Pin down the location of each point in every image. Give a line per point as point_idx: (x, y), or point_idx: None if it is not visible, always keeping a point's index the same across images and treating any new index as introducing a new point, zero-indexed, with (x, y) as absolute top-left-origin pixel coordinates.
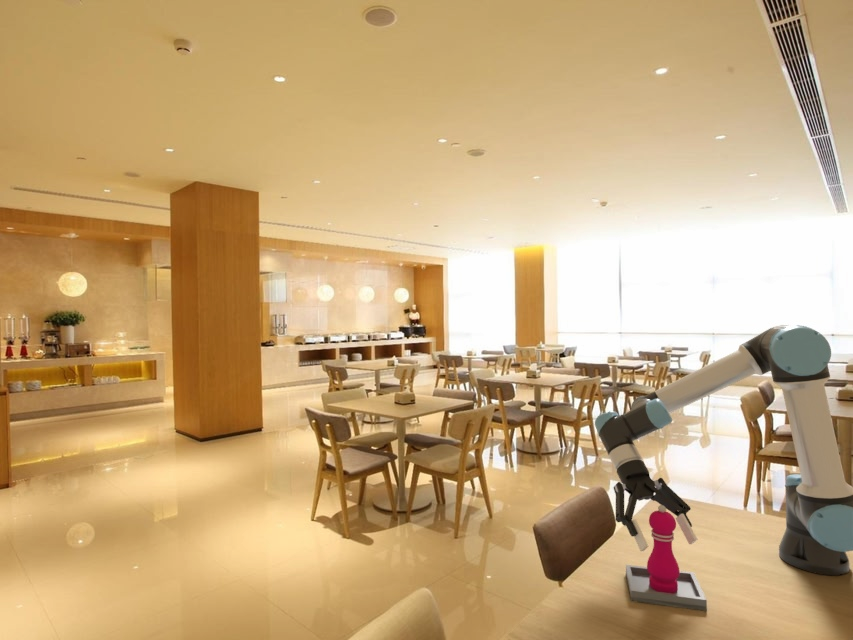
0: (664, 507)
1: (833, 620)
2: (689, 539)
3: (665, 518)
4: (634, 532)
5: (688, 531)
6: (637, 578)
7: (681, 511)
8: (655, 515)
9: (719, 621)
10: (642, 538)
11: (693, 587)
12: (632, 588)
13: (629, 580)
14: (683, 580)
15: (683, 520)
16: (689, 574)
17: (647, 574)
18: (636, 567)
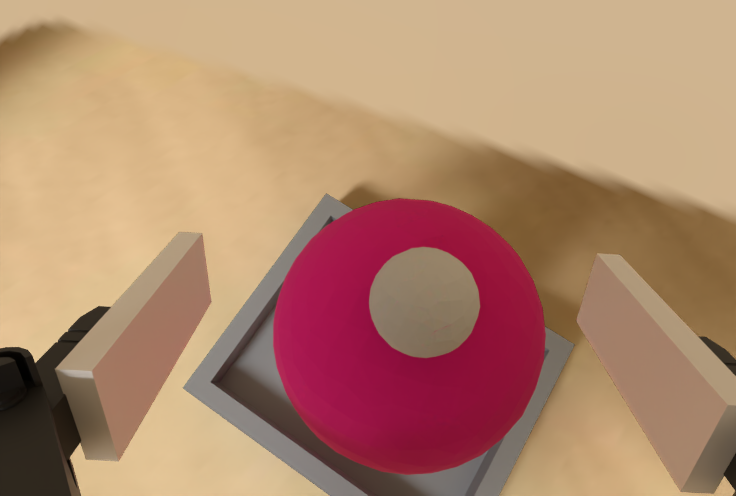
0: (416, 255)
1: (5, 60)
2: (200, 290)
3: (454, 214)
4: (706, 345)
5: (177, 287)
6: (442, 476)
7: (43, 397)
8: (522, 311)
9: (338, 154)
10: (646, 284)
11: (261, 324)
12: (558, 357)
13: (532, 423)
14: (253, 387)
15: (131, 336)
16: (214, 384)
17: (372, 492)
18: None
